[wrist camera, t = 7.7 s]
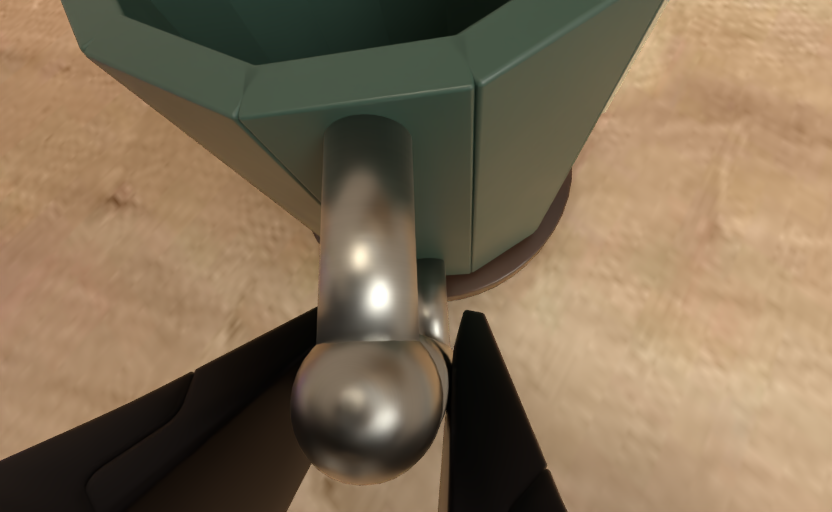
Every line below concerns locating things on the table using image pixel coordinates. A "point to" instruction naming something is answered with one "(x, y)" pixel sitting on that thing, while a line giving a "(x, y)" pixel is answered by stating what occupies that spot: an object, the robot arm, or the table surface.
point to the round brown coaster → (508, 254)
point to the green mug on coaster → (380, 163)
